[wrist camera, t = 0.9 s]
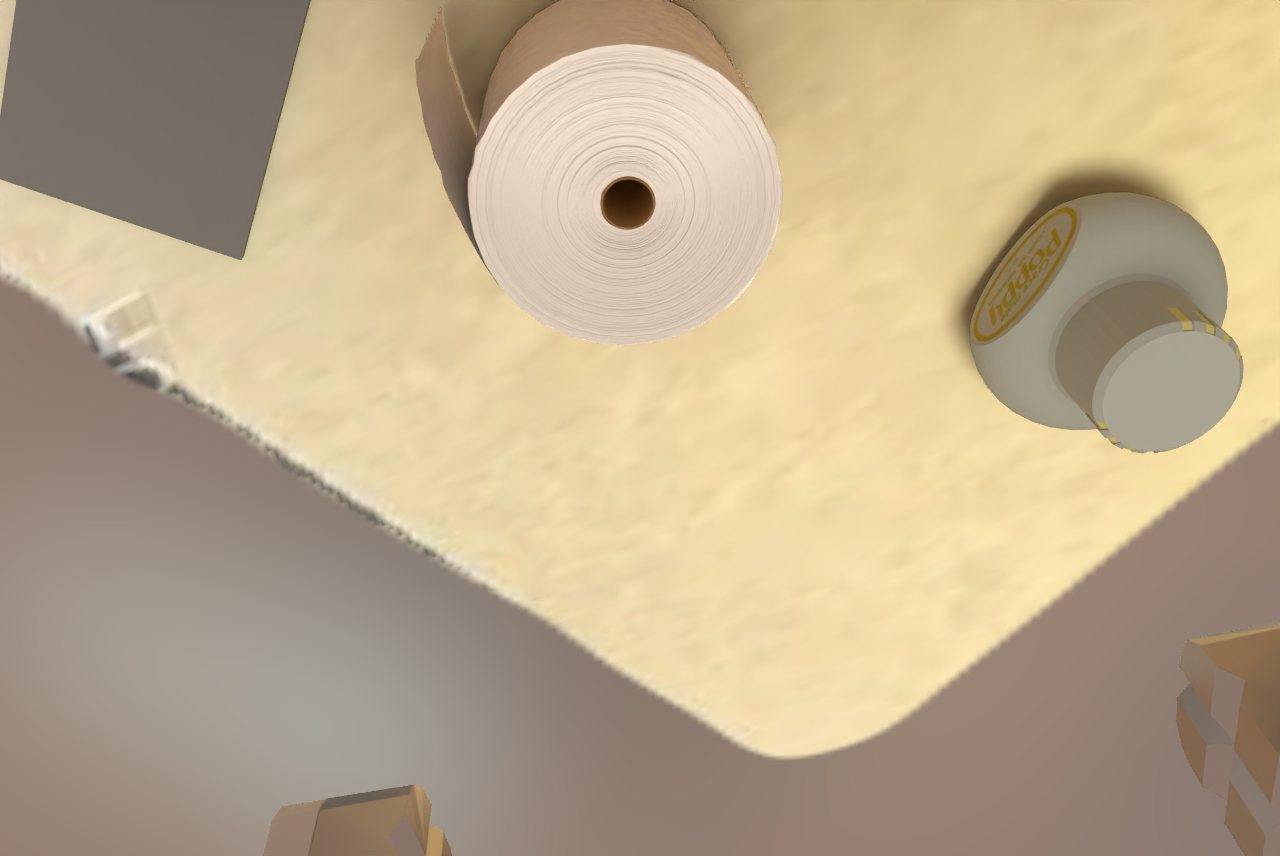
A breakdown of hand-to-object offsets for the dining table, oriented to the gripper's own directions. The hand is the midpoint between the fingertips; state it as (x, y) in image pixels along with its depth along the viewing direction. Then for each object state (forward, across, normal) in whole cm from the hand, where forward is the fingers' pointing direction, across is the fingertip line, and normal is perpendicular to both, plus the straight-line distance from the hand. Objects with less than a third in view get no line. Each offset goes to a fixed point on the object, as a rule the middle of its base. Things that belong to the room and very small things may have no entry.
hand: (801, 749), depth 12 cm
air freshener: (+38, -18, +16) cm, 45 cm away
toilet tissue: (+38, +2, +4) cm, 38 cm away
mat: (+38, +19, -1) cm, 42 cm away
